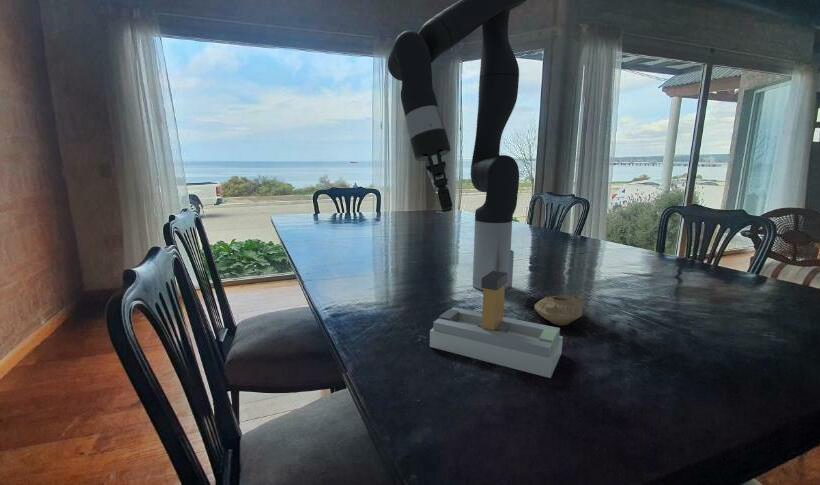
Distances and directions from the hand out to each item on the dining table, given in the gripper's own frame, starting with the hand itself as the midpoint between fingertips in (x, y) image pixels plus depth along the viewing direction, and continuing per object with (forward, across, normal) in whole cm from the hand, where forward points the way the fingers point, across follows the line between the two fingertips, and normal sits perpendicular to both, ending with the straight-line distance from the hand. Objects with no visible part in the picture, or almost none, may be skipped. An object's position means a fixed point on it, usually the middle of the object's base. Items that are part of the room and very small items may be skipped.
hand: (447, 210), depth 80 cm
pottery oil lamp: (+28, +1, -17) cm, 33 cm away
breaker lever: (+23, -14, -2) cm, 27 cm away
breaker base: (+26, -14, -1) cm, 29 cm away
